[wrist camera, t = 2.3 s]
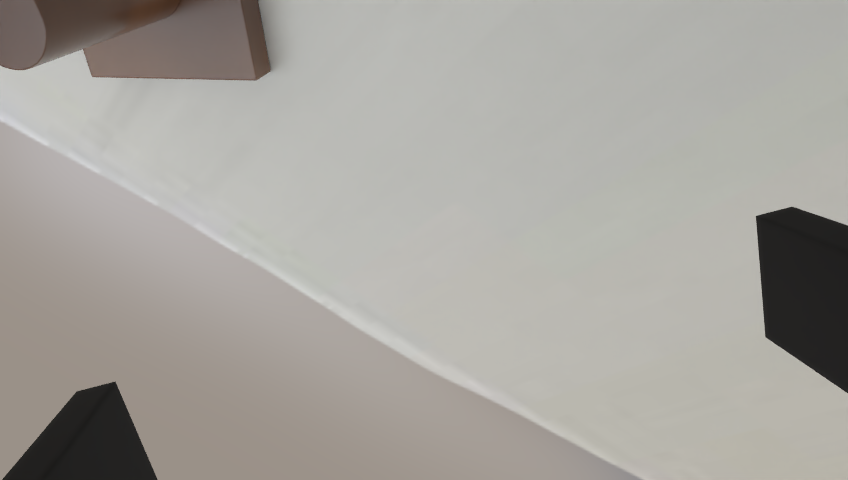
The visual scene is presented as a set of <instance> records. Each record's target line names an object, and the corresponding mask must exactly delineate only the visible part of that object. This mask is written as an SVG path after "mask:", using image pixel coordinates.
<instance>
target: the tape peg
mask: <svg viewBox="0 0 848 480" xmlns="http://www.w3.org/2000/svg"><path fill="white" fill-rule="evenodd" d="M81 49H83V51H84V54H85V57H86V60H87V63H88V66H89V69H90V72H91V75H92V77H116V78H165V79H213V80H258V79H259V78H261V77H262V76H264V75H265V74H267V73H269V72H270V65H269V60H268V54H267V49H266V43H265V38H264V32H263V26H262V21H261V15H260V10H259V4H258V0H0V65H1V66H3V67H6V68H9V69H14V70H26V69H30V68H33V67H35V66H38V65H41V64H43V63H46V62H49V61H52V60H54V59H57V58H60V57H62V56H65V55H68V54H70V53H73V52H76V51H79V50H81Z"/></svg>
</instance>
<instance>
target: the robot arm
mask: <svg viewBox="0 0 848 480" xmlns="http://www.w3.org/2000/svg"><path fill="white" fill-rule="evenodd" d="M756 222H757V235H758V247H759V260H760V273H761V285H762V298H763V311H764V323H765V336H766V338H768V339H769V340H771V341H772V342H774V343H775V344H776V345H778V346H779V347H781V348H782V349H784V350H785V351H787V352H788V353H790V354H791V355H793V356H794V357H796V358H797V359H798V360H800V361H801V362H803V363H804V364H806V365H807V366H809V367H810V368H812V369H813V370H815V371H816V372H818V373H819V374H821V375H822V376H823V377H825V378H826V379H828V380H829V381H831V382H832V383H834V384H835V385H837V386H838V387H840V388H841V389H843V390H844V391H845V392H847V393H848V226H847V225H844V224H841V223H838V222H836V221H833V220H830V219H827V218H824V217H821V216H818V215H815V214H812V213H809V212H806V211H803V210H800V209H797V208H794V207H789V208H785V209H782V210H778V211H774V212H770V213H766V214H762V215H758V216H756ZM3 480H157V478H156V475H155V473H154V471H153V468H152V466H151V464H150V461H149V459H148V457H147V454H146V452H145V450H144V447H143V445H142V443H141V441H140V438H139V436H138V433H137V431H136V429H135V426H134V424H133V422H132V419H131V417H130V415H129V412H128V410H127V408H126V405H125V403H124V401H123V398H122V396H121V394H120V391H119V389H118V387H117V384H116V382H112V383H109V384H104V385H101V386H97V387H93V388H89V389H85V390H81V391H78V392H76V393H75V394H74V395H73V397H72V398H71V399H70V400H69V401H68V403H67V404H66V405H65V406H64V407H63V408H62V410H61V411H60V412H59V413H58V414H57V415H56V417H55V418H54V419H53V420H52V421H51V423H50V424H49V425H48V426H47V427H46V429H45V430H44V431H43V432H42V433H41V434H40V436H39V437H38V438H37V439H36V440H35V442H34V443H33V444H32V445H31V446H30V447H29V449H28V450H27V451H26V452H25V453H24V455H23V456H22V457H21V458H20V459H19V461H18V462H17V463H16V464H15V465H14V466H13V468H12V469H11V470H10V471H9V472H8V473H7V475H6V476H5V477H4V478H3Z"/></svg>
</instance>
